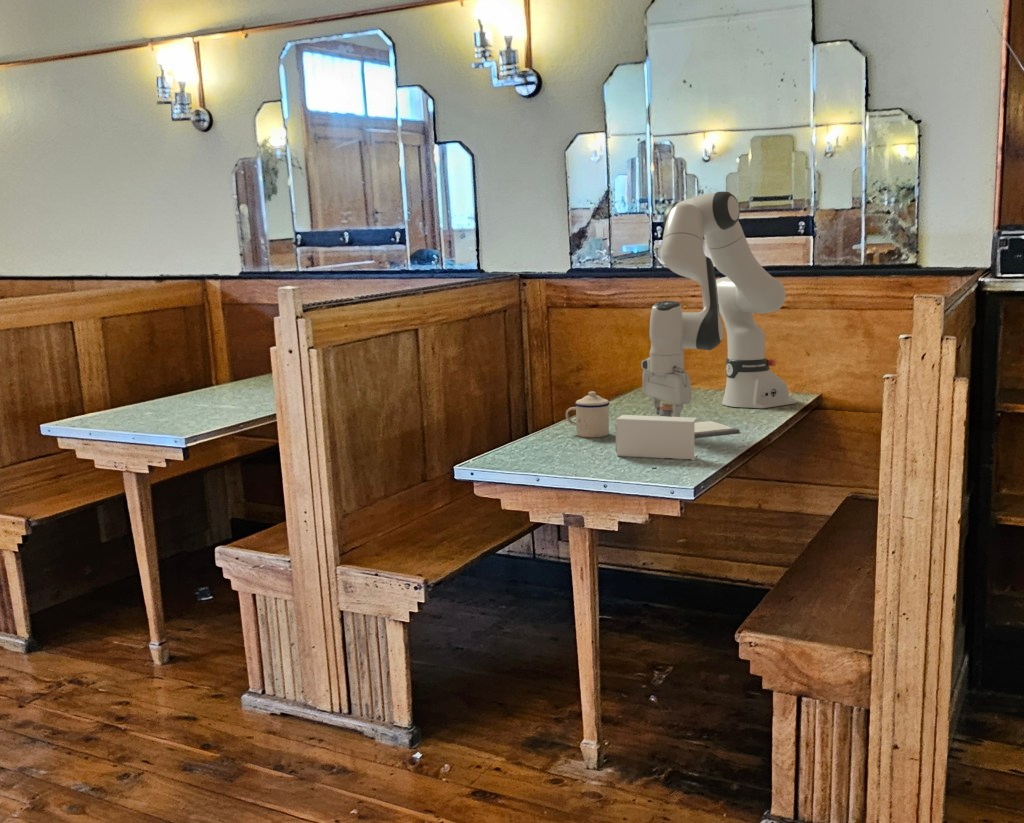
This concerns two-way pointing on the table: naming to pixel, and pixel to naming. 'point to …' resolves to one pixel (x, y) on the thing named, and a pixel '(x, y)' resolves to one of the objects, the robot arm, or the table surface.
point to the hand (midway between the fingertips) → (666, 417)
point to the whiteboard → (712, 429)
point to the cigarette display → (655, 436)
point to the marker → (666, 409)
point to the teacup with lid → (591, 416)
